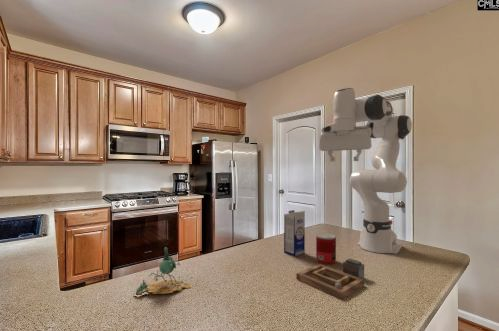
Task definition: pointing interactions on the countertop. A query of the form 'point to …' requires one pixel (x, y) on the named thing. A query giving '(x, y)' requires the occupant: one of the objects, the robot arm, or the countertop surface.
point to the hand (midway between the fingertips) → (344, 161)
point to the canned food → (326, 248)
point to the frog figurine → (164, 286)
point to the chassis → (330, 280)
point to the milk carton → (294, 233)
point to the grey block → (353, 268)
